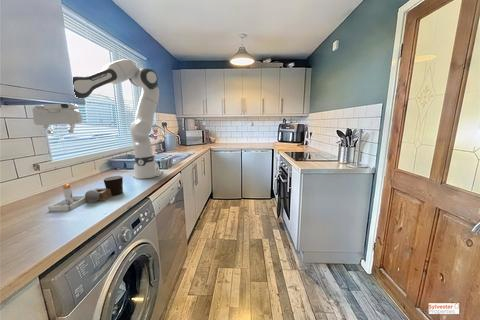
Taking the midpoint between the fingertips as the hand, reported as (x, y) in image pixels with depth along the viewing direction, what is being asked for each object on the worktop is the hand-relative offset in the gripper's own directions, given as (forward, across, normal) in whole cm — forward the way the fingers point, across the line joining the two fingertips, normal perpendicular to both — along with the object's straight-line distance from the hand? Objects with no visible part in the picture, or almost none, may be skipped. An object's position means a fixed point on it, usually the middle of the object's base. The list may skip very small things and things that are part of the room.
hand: (61, 133), depth 107 cm
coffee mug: (+34, +24, -5) cm, 42 cm away
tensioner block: (+33, +20, -13) cm, 40 cm away
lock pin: (+32, +9, -18) cm, 38 cm away
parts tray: (+33, +10, -18) cm, 39 cm away
